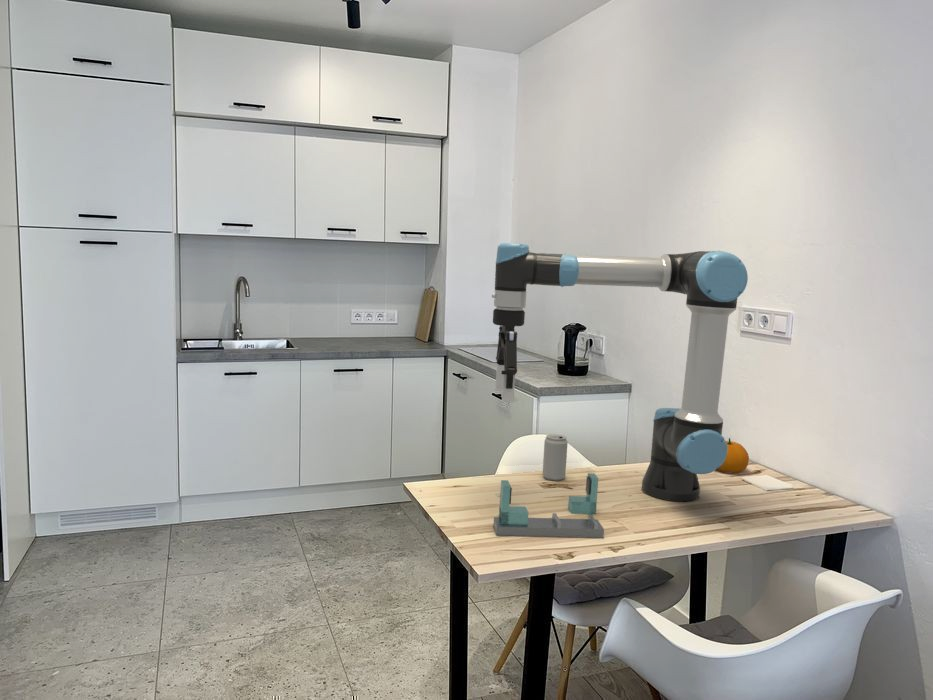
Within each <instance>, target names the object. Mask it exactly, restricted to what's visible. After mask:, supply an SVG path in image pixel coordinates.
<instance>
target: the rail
mask: <svg viewBox="0 0 933 700" xmlns="http://www.w3.org/2000/svg"><path fill="white" fill-rule="evenodd" d="M512 489H513V488H512V486H511V484H510V482H509V480H508V479H507V480H500V493H499V507H498V511H499V512H498V516H494V517H493V525H492V526H493V528H494V533H495V535H496V536H497V537H500V536H502V537H505V536H506V537H541V538H542V537H545V538H546V537H549V538H588V539H589V538H595V539H604V535H605V528H604V527H603V526H602V524H601V522H600V521H599V519H596V518H595V517H594V516H593V514H587V518H559V516H558V515H557V513H555V512H554V513H553V512H552V515H551V516H552V517H551V518H549V517H547V518H546V517H529V511H528V507H527V506H520V505H519V506H518V505H517V506H516V505H513V506H512V505H511V504H512V491H513V490H512Z"/></svg>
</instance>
